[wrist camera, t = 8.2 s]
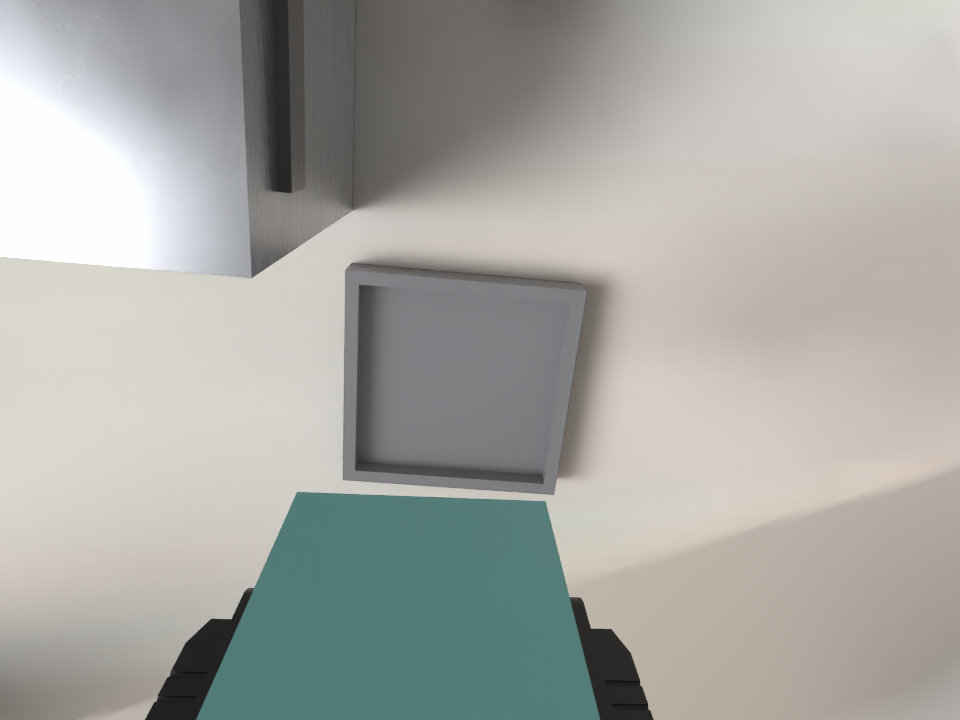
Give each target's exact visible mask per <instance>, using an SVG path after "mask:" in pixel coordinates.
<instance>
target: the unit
mask: <svg viewBox="0 0 960 720" xmlns="http://www.w3.org/2000/svg"><path fill="white" fill-rule="evenodd" d="M355 16H356V0H0V256H3V257H14V258H26V259H37V260H49V261H61V262H72V263H84V264H95V265H107V266H118V267H130V268H142V269H153V270H165V271H176V272H188V273H199V274H211V275H222V276H234V277H246V278H252V277H254V276H255V275H257V274H258V273H260V272H261V271H263V270H264V269H266V268H267V267H269V266H270V265H272V264H273V263H275V262H276V261H278V260H279V259H281V258H282V257H284V256H285V255H287V254H288V253H290V252H291V251H293V250H294V249H296V248H297V247H299V246H300V245H302V244H303V243H305V242H306V241H308V240H309V239H311V238H312V237H314V236H315V235H317V234H318V233H320V232H321V231H323V230H324V229H326V228H327V227H329V226H330V225H332V224H333V223H334V222H336V221H337V220H339V219H340V218H342V217H343V216H345V215H346V214H348V213H349V212H351V211H352V201H353V139H354V77H355Z"/></svg>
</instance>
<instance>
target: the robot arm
mask: <svg viewBox="0 0 960 720" xmlns="http://www.w3.org/2000/svg"><path fill="white" fill-rule="evenodd" d="M253 590H254V588H248V589H247V590H246V591H245V592H244V594H243V596H242V598H241V600H240V602H239V605H238V607H237V609H236V611H235V613H234V615H233V618H232V619H211V620H210V621H209V622H207V623H206V624H205V625H204V626H203V627H202V628H201V629H200V630H199V631H198V632H197V633H196V634H195V635H194V636H193V637H192V638H191V639H190V640H188V641H187V642H186V644H185V646H184V647H183V649H182V651H181V653H180V655H179V657H178V659H177V661H176V663H175V664H174V666H173V668H172V670H171V674H170V677H168V678H167V679H166V681H165V683H164V685H163V687H162V689H161V691H160V693H159V695H158V699H157V702H154V704H153V706H152V708H151V710H150V711H149V714H148V715H147V717H146V719H145V720H196V719H197V717H198V714H199V712H200V710H201V708H202V705H203V703H204V701H205V699H206V696H207V694H208V692H209V690H210V687H211V685H212V683H213V681H214V678H215V676H216V674H217V672H218V669H219V667H220V665H221V663H222V660H223V658H224V656H225V654H226V651H227V649H228V647H229V645H230V642H231V640H232V638H233V636H234V633H235V631H236V629H237V627H238V624H239V622H240V620H241V617H242V615H243V613H244V611H245V608H246V606H247V604H248V602H249V599H250V597H251V595H252V593H253ZM570 601H571V605H572V609H573V613H574V617H575V621H576V625H577V629H578V633H579V637H580V641H581V645H582V649H583V653H584V657H585V661H586V665H587V669H588V673H589V677H590V681H591V685H592V689H593V693H594V697H595V701H596V705H597V709H598V713H599V717H600V720H653V717H652V714H651V711H650V710H648V703H647V700H646V697H645V694H644V691H643V688H642V687H641V686H640V679H639V676H638V673H637V670H636V668H635V664H634V661H633V659H632V656H631V653H630V652H629V650H627V648H626V647H625V646H624V645H623V643H622V642H621V641H620V639H619V638H618V637H617V636H616V634H615V633H614V632H613V631H612V630H611V629H591V628H590V624H589V620H588V617H587V613H586V610H585V606H584V603H583V601H582V599H581V598H578V597H576V598H575V597H574V598H573V597H570Z"/></svg>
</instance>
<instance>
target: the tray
mask: <svg viewBox="0 0 960 720" xmlns="http://www.w3.org/2000/svg"><path fill="white" fill-rule="evenodd" d="M586 294H587V291H586V289H585V288H584V287H583V285H582V284H580V283H568V282H557V281H546V280H534V279H523V278H512V277H501V276H489V275H478V274H467V273H455V272H444V271H433V270H421V269H410V268H399V267H388V266H376V265H365V264H354V263H351V264H350V266H349V267H348V268H347V269H346V270H345V346H344V425H343V480H350V481H364V482H378V483H392V484H407V485H421V486H435V487H450V488H464V489H478V490H492V491H507V492H521V493H535V494H549V495H554V491H555V485H556V479H557V473H558V466H559V460H560V454H561V448H562V442H563V436H564V430H565V423H566V417H567V411H568V405H569V399H570V393H571V387H572V380H573V374H574V368H575V362H576V356H577V350H578V344H579V337H580V331H581V325H582V319H583V313H584V307H585V300H586Z"/></svg>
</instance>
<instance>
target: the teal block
mask: <svg viewBox="0 0 960 720" xmlns="http://www.w3.org/2000/svg"><path fill="white" fill-rule="evenodd" d="M196 720H600V717H599V713H598V709H597V705H596V701H595V697H594V693H593V689H592V685H591V681H590V677H589V673H588V669H587V665H586V661H585V657H584V653H583V649H582V645H581V641H580V637H579V633H578V629H577V625H576V621H575V617H574V613H573V609H572V605H571V601H570V597H569V593H568V589H567V585H566V581H565V577H564V573H563V569H562V565H561V561H560V557H559V553H558V550H557V546H556V542H555V538H554V534H553V530H552V526H551V522H550V518H549V514H548V510H547V506H546V502H545V501H521V500H494V499H468V498H441V497H414V496H387V495H360V494H333V493H307V492H297V494H296V496H295V498H294V500H293V503H292V505H291V507H290V509H289V512H288V514H287V516H286V518H285V521H284V523H283V525H282V527H281V530H280V532H279V534H278V536H277V539H276V541H275V543H274V545H273V548H272V550H271V552H270V554H269V557H268V559H267V561H266V563H265V566H264V568H263V570H262V572H261V575H260V577H259V579H258V581H257V584H256V586H255V588H254V590H253V593H252V595H251V597H250V599H249V602H248V604H247V606H246V608H245V611H244V613H243V615H242V617H241V620H240V622H239V624H238V627H237V629H236V631H235V633H234V636H233V638H232V640H231V642H230V645H229V647H228V649H227V651H226V654H225V656H224V658H223V660H222V663H221V665H220V667H219V669H218V672H217V674H216V676H215V678H214V681H213V683H212V685H211V687H210V690H209V692H208V694H207V696H206V699H205V701H204V703H203V705H202V708H201V710H200V712H199V714H198V717H197V719H196Z"/></svg>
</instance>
